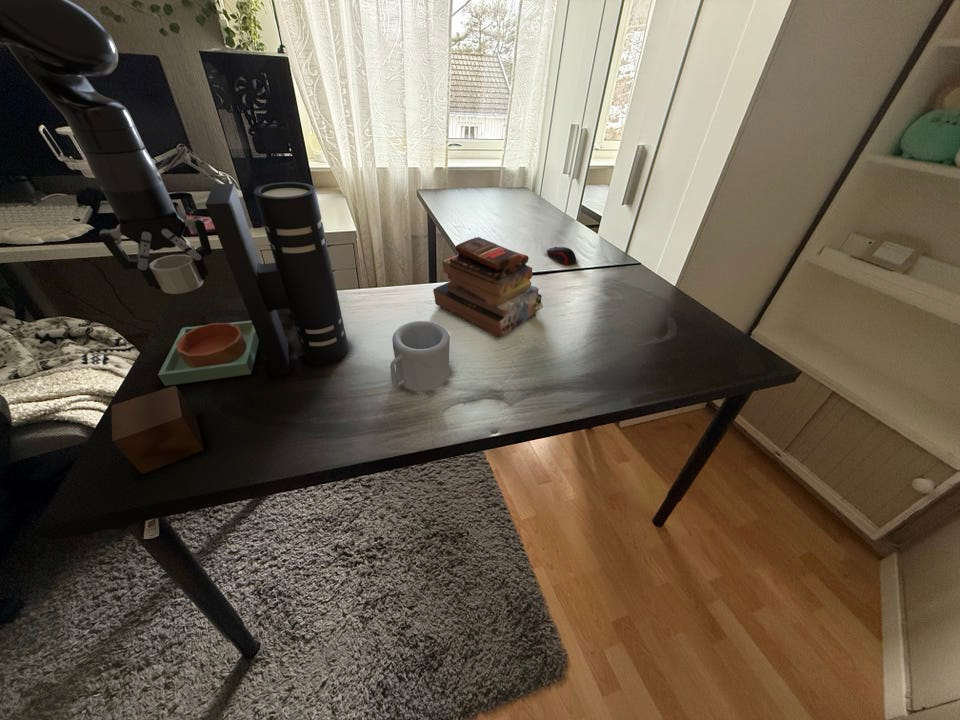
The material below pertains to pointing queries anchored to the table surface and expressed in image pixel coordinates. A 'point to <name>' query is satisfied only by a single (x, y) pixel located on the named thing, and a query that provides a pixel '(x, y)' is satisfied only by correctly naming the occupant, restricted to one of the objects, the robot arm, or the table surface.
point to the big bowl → (211, 345)
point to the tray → (182, 373)
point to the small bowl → (176, 274)
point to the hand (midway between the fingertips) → (181, 282)
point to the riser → (155, 429)
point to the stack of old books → (488, 287)
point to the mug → (420, 356)
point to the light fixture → (283, 270)
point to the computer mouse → (562, 255)
